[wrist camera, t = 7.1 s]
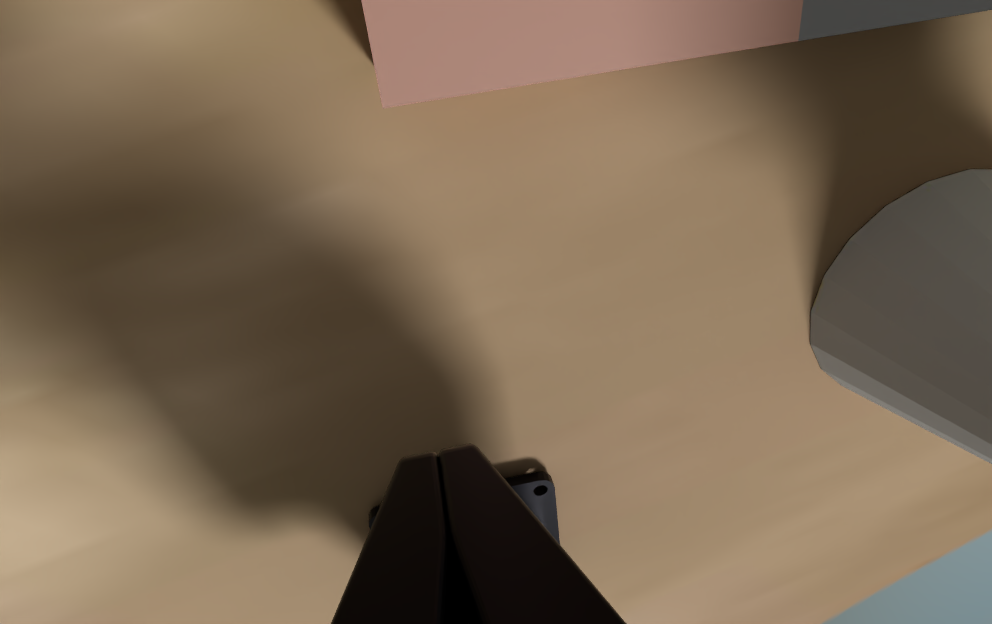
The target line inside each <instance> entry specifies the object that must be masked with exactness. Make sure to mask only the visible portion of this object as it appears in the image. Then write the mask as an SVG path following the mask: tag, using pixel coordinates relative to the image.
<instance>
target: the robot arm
mask: <svg viewBox="0 0 992 624" xmlns="http://www.w3.org/2000/svg"><path fill="white" fill-rule="evenodd" d="M540 485H542V486H540ZM537 486H540V487H537ZM369 528H370V532H369V534H368V536H367V539H366V541H365V544H364V546H363V548H362V551H361V553H360V555H359V558H358V560H357V563H356V565H355V567H354V570H353V572H352V575H351V577H350V579H349V582H348V584H347V586H346V589H345V591H344V594H343V596H342V598H341V601H340V603H339V605H338V608H337V610H336V613H335V615H334V617H333V620H332V622H331V624H626V623H625V622H624V620H623V619H622V618H621V617H620V616H619V614H618V613H617V612H616V611H615V610H614V608H613V607H612V606H611V605H610V604H609V603H608V601H607V600H606V599H605V598H604V597H603V595H602V594H601V593H600V592H599V591H598V589H597V588H596V587H595V586H594V585H593V584H592V582H591V581H590V580H589V579H588V578H587V576H586V575H585V574H584V573H583V572H582V571H581V569H580V568H579V567H578V566H577V565H576V563H575V562H574V561H573V560H572V559H571V557H570V556H569V555H568V554H567V553H566V552H565V550H564V549H563V548H562V547H561V546H560V541H559V530H558V519H557V508H556V497H555V487H554V484H553V481H552V478H551V476H550V475H549V474H548V473H545V472H536V473H531V474H526V475H521V476H516V477H512V478H507V479H504V478H503V477H502V476H501V474H500V473H499V472H498V471H497V470H496V469H495V467H494V466H493V465H492V464H491V463H490V461H489V460H488V459H487V458H486V457H485V456H484V454H483V453H482V452H481V451H480V450H479V448H478V447H476V446H475V445H473V444H465V445H460V446H455V447H450V448H445V449H442V450H441V451H440V453H439V457H438V455H437V454H436V453H435V452H426V453H421V454H416V455H411V456H406V457H403V458H402V459H401V460H400V461H399V463H398V465H397V467H396V470H395V472H394V475H393V477H392V479H391V482H390V484H389V486H388V489H387V491H386V494H385V496H384V498H383V501H382V503H381V505H378V506H376V507H374V508H373V509H371V511H370V512H369Z"/></svg>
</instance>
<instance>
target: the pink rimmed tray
mask: <svg viewBox="0 0 992 624" xmlns="http://www.w3.org/2000/svg"><path fill="white" fill-rule="evenodd" d="M361 1H362V6H363V11H364V16H365V21H366V27H367V32H368V37H369V42H370V47H371V52H372V57H373V62H374V67H375V72H376V77H377V82H378V87H379V92H380V97H381V102H382V107H383V108H389V107H395V106H401V105H407V104H413V103H419V102H426V101H432V100H438V99H444V98H450V97H456V96H463V95H469V94H475V93H481V92H487V91H494V90H500V89H506V88H512V87H518V86H524V85H531V84H537V83H543V82H549V81H555V80H561V79H568V78H574V77H580V76H586V75H592V74H598V73H605V72H611V71H617V70H623V69H629V68H635V67H642V66H648V65H654V64H660V63H666V62H673V61H679V60H685V59H691V58H697V57H703V56H710V55H716V54H722V53H728V52H734V51H740V50H747V49H753V48H759V47H765V46H771V45H777V44H784V43H790V42H796V41H802V40H808V39H814V38H821V37H827V36H833V35H839V34H845V33H852V32H858V31H864V30H870V29H876V28H882V27H889V26H895V25H901V24H907V23H913V22H919V21H926V20H932V19H938V18H944V17H950V16H956V15H963V14H969V13H975V12H981V11H987V10H992V0H361Z"/></svg>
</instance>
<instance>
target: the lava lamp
mask: <svg viewBox="0 0 992 624" xmlns="http://www.w3.org/2000/svg"><path fill="white" fill-rule="evenodd" d="M810 344H811V347H812V349H813V351H814V354H815V356H816V358H817V360H818V363H819V365H820V367H821V369H822V370H823V371H824V372H826V373H827V374H828V375H829V376H830V377H832V378H833V379H834V380H835V381H837V382H838V383H839V384H840V385H842V386H843V387H845V388H847V389H849V390H851V391H853V392H855V393H857V394H859V395H861V396H862V397H864V398H866V399H868V400H870V401H872V402H874V403H876V404H878V405H880V406H882V407H884V408H885V409H887V410H889V411H891V412H893V413H895V414H897V415H899V416H901V417H903V418H905V419H907V420H908V421H910V422H912V423H914V424H916V425H918V426H920V427H922V428H924V429H926V430H928V431H930V432H931V433H933V434H935V435H937V436H939V437H941V438H943V439H945V440H947V441H949V442H951V443H953V444H954V445H956V446H958V447H960V448H962V449H964V450H966V451H968V452H970V453H972V454H974V455H976V456H977V457H979V458H981V459H983V460H985V461H987V462H989V463H991V464H992V169H969V170H966V171H962V172H959V173H955V174H952V175H949V176H945V177H942V178H939V179H935V180H932V181H928V182H926V183H924V184H923V185H921V186H919V187H918V188H916V189H914V190H912V191H911V192H909V193H907V194H906V195H904V196H902V197H900V198H899V199H897V200H895V201H894V202H892V203H890V204H888V205H887V206H885V207H884V208H883V209H882V210H881V211H880V212H879V213H877V214H876V215H875V216H874V217H873V218H872V219H871V220H870V221H869V222H868V223H867V224H865V225H864V226H863V227H862V228H861V229H860V230H859V231H858V232H857V233H856V234H855V235H853V236H852V237H851V238H850V239H849V241H848V242H847V244H846V245H845V246H844V248H843V249H842V251H841V252H840V254H839V255H838V256H837V258H836V259H835V261H834V262H833V264H832V265H831V266H830V268H829V269H828V271H827V272H826V274H825V275H824V277H823V280H822V283H821V286H820V288H819V291H818V294H817V296H816V299H815V302H814V305H813V307H812V310H811V331H810Z"/></svg>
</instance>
